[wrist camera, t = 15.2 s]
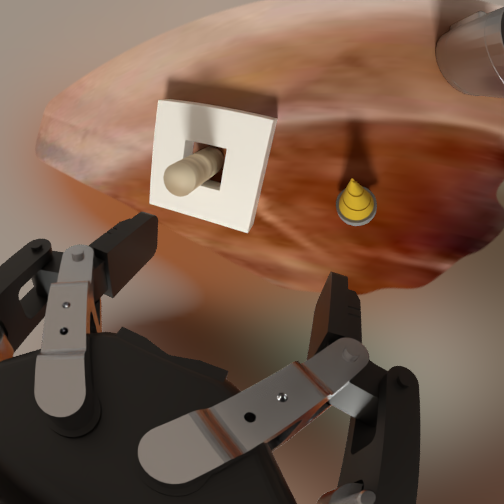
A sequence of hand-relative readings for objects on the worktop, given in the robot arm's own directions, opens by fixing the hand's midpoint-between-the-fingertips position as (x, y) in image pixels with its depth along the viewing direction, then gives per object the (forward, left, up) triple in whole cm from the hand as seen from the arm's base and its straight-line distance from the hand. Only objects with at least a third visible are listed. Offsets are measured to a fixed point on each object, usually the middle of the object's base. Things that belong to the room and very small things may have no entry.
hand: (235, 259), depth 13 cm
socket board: (+5, -12, -28) cm, 31 cm away
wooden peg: (+5, -12, -28) cm, 31 cm away
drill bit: (+4, +8, -28) cm, 30 cm away
